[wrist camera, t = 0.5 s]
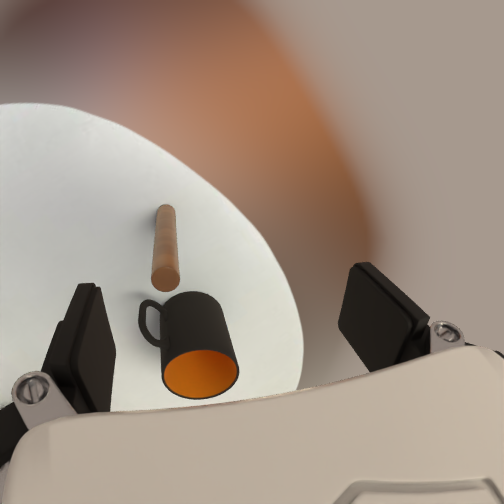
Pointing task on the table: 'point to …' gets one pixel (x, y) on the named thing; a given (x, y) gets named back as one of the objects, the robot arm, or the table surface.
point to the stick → (165, 251)
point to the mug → (193, 345)
